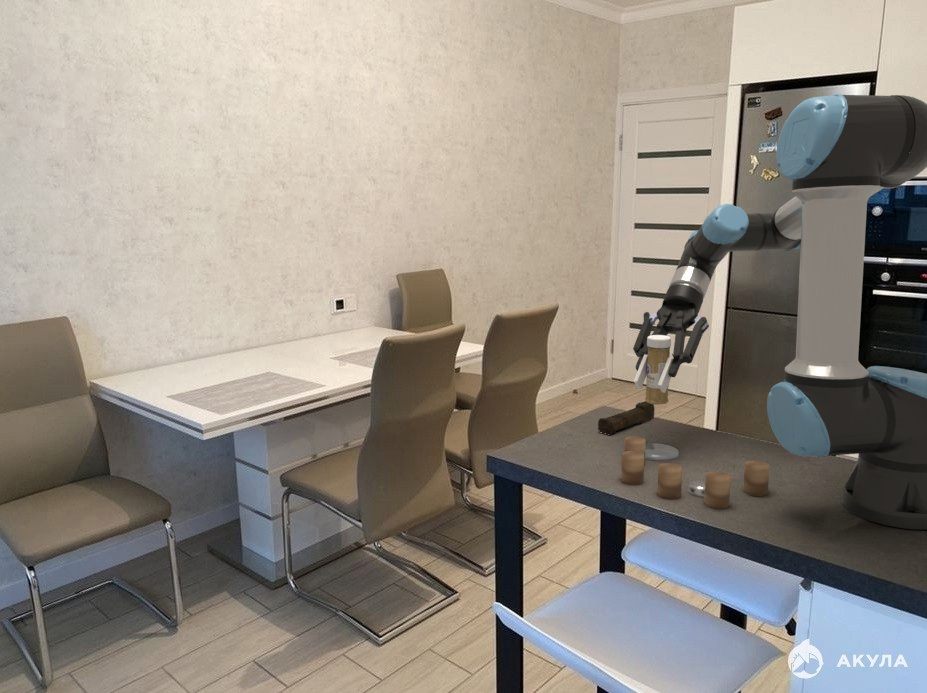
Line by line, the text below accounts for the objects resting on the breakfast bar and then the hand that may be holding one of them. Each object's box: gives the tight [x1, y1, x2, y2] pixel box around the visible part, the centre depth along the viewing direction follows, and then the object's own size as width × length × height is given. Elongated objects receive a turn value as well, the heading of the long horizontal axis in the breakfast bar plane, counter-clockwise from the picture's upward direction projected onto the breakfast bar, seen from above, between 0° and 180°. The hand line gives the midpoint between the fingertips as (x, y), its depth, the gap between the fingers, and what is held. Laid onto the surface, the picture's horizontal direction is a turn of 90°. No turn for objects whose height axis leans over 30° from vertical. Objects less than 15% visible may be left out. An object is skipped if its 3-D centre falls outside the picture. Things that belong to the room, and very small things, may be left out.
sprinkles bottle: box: [644, 334, 672, 406], centre depth 141 cm, size 5×5×13 cm
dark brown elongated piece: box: [597, 400, 655, 436], centre depth 162 cm, size 19×4×5 cm, turn 129°
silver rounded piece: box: [687, 480, 705, 498], centre depth 124 cm, size 4×4×2 cm
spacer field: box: [620, 436, 771, 510], centre depth 129 cm, size 26×18×5 cm
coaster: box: [645, 442, 679, 462], centre depth 144 cm, size 9×9×1 cm
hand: (649, 386), depth 139 cm, fingers closed on sprinkles bottle, 4 cm apart
